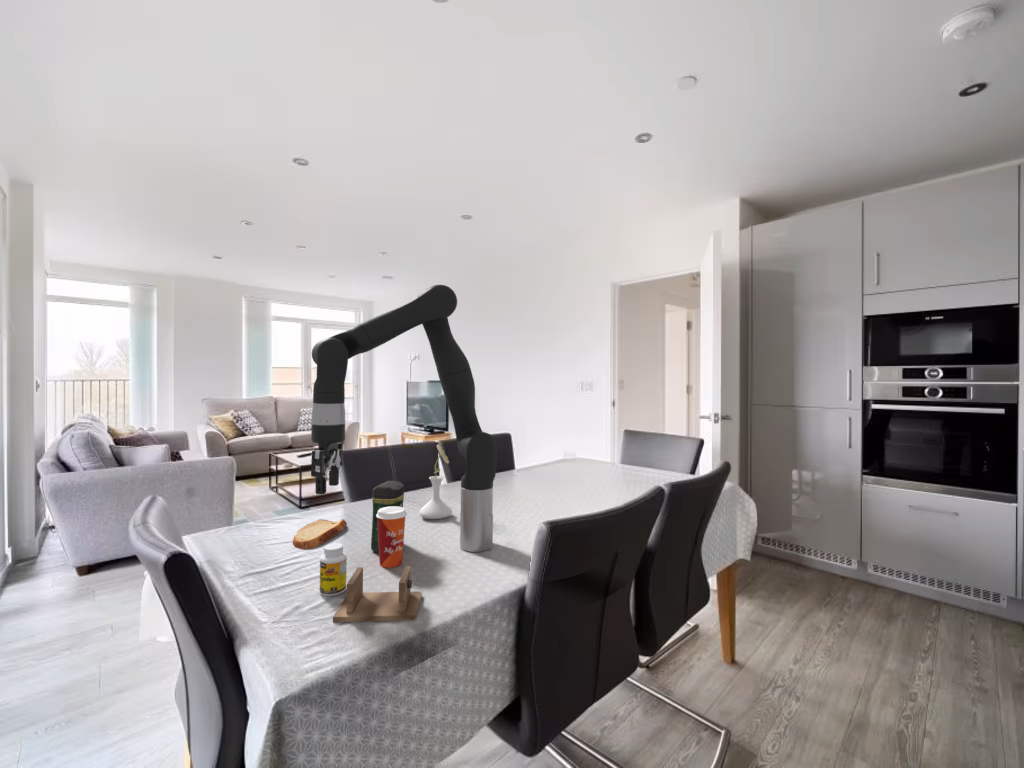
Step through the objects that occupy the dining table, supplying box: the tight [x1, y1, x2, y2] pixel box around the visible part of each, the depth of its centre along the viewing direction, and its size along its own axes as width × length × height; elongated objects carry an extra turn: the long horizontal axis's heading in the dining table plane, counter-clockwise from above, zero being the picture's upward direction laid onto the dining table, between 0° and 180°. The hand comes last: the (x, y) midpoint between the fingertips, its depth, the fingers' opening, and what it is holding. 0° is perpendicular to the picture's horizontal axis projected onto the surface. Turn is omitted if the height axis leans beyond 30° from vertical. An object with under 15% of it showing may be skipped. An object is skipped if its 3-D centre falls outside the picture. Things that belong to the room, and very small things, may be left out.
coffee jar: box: [370, 480, 405, 554], centre depth 127 cm, size 10×8×19 cm
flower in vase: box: [418, 443, 453, 520], centre depth 157 cm, size 13×11×25 cm
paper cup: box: [376, 506, 408, 569], centre depth 116 cm, size 8×8×14 cm
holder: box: [332, 565, 423, 623], centre depth 94 cm, size 16×10×7 cm, turn 94°
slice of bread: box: [292, 518, 348, 550], centre depth 136 cm, size 18×18×4 cm
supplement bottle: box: [319, 543, 348, 597], centre depth 101 cm, size 6×6×10 cm
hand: (327, 489), depth 108 cm, fingers open, 8 cm apart
